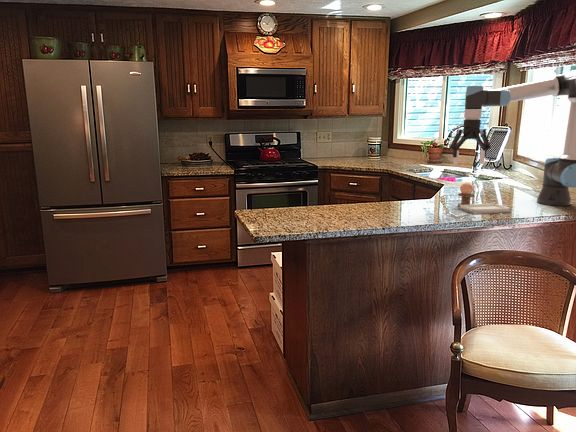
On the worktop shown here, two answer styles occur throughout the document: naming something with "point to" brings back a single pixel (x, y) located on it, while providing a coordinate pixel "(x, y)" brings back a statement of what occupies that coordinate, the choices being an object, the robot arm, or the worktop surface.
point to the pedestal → (465, 198)
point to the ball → (466, 188)
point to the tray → (484, 208)
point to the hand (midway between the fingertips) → (468, 164)
